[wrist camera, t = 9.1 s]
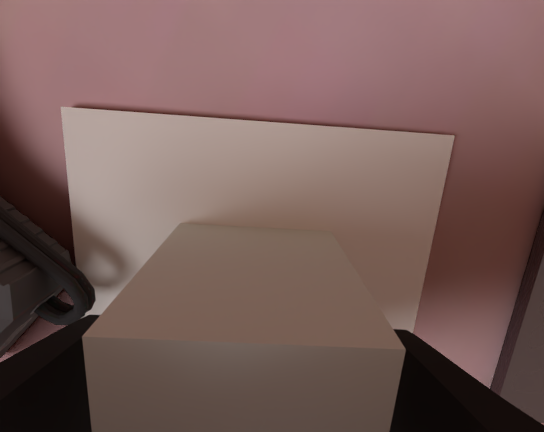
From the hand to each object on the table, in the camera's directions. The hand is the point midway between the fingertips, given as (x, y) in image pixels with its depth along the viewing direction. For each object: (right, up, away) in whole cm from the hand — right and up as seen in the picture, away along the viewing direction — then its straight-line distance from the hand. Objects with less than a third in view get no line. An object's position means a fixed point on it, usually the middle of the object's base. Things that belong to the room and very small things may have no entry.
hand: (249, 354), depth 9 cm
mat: (0, +1, +3) cm, 3 cm away
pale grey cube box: (0, +1, +3) cm, 3 cm away
